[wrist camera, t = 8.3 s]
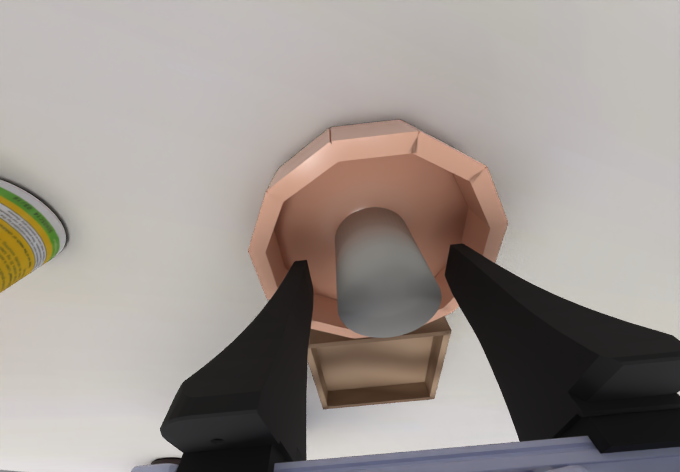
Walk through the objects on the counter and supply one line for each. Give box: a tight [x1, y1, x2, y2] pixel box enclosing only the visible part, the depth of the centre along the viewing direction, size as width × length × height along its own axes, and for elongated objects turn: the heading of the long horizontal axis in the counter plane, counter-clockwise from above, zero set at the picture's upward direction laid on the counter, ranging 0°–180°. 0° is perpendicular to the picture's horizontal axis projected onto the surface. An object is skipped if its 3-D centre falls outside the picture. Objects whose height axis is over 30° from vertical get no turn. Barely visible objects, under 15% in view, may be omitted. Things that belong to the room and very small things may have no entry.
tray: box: [307, 316, 451, 409], centre depth 22 cm, size 11×11×2 cm
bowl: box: [248, 119, 508, 339], centre depth 14 cm, size 13×13×3 cm
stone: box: [335, 207, 442, 338], centre depth 12 cm, size 4×4×5 cm
